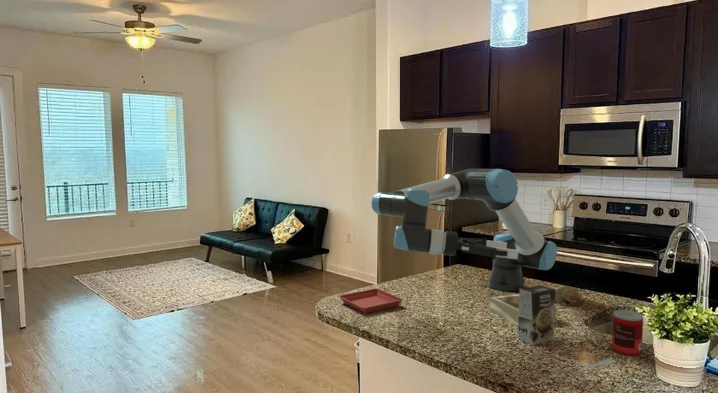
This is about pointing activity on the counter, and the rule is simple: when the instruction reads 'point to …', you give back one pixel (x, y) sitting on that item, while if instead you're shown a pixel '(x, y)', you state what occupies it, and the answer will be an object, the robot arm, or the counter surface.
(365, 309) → the plant saucer
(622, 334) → the canned food
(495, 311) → the wooden tray
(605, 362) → the butter knife
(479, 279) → the counter surface
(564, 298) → the bread roll
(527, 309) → the coffee box
